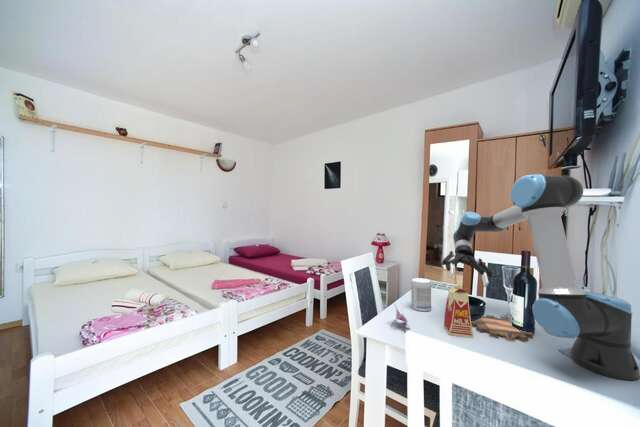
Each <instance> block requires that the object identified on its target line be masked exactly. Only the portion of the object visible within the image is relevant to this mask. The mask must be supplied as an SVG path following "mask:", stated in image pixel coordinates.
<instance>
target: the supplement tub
mask: <svg viewBox="0 0 640 427" xmlns="http://www.w3.org/2000/svg"><path fill="white" fill-rule="evenodd" d="M410 282H411V283H410V284H411V295H410V296H411V299H410V300H411V308H412V309H413V310H415V311H418V312H419V311H420V312H429V311H431V310H432V284H431V282H432V281H431V279H427V278H422V277H415V278H412V279H411V281H410Z"/></svg>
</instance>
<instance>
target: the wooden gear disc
mask: <svg viewBox="0 0 640 427" xmlns="http://www.w3.org/2000/svg"><path fill="white" fill-rule="evenodd" d="M481 316H482V317H481V318H480V319H478V320H475V321H471V325H472V328H475V331H477V332H479V333H481V334H482V333H483V334H485V333H486V334H488V336H489V337H491V338H495V339H498V338H503V339H505V340H506V341H508V342H515V341H516V340H519V341H521V342H528V341H529V339H532V340H533V338H534V333H533V332H532V331H531V332H526V331H522V330H519V329H517V328H515V327H513V326H512V324H511V320H509V318H507V317H502V316H501V317H495V316H494V315H492V314H491V315H490V314H486V316H483V315H481Z"/></svg>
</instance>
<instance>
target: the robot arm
mask: <svg viewBox="0 0 640 427" xmlns="http://www.w3.org/2000/svg"><path fill="white" fill-rule="evenodd" d="M583 196H584V187H583V185H582V182H580V181H579V180H578V179H577V178H575V177H573V176H570V175H565V174H562V175H561V174H560V175H559V174H556V175H555V174H540V173H535V174H526V175H523V176H521V177H520V178H518V179H516V181H515V182H514V184H513V185H512V187H511V189H510V196H509V197H510V200H511V202H512V203H513V206H511V207H509V208H506V209H503V210H502V211H500V212H497V213H495V214H493V215H491V216H481V215H480V214H479V213H477V212H473V211H466V212H464V214H463V215H462V217H461V220H460V222H459V225H458V228H457V229H456V230H455V231H454V233H453V235H452V236H453V237H452V238H453V242H454V252H455V253H454V252H453V251H452V250H451V251H449V254H447V256H445V257H444V258H443V259H442V262H441V265H443V266H444V265H445V268H446V271H448V275H449V276H448V277H449V278H452V277H453V274H454V268H453V267H454V265H455V264H456V265H457V264H460V263H461V264H463V265H466V266H469V267H470V268H473V269H474V270H475V271H477V273H479V274H480V275H481V279H482V284H483V287H484V288H487V287H488V285H489V281H490V279H491V277H492V276H493V275H494V273H493V271H492V270H491V269H490V268H489V267H488V266H487V265H486V264H485V263H484V261H483V260H482V258H478V259H476V258H475V257H474V251H473V247H472V242H471V241H472V238H473V237H474V236H475V233H476V232H479V233H481V232H483V233H484V232H489V233H491V232H492V233H493V232H494V233H499V232H505V230H507V228H508V227H510V226H512V225H516V224H518V223H521V222H524V221H526V220H528V223H529V227H530V232H531V237H532V238H531V239H532V243H533V246H534V251H535V256H536V261H537V266H538V271H539V276H540V281H541V288H540V289H539V290H538V291H537V294H538V299H536V300H534V302H533V304H532V307H531V309H532V314H533V318H534V320H535V321H536V322H537V324H538V325H539V326H540V327H541V328H542V329H543V330H544V331H545V332H546V333H548V334H549V335H552V336H554V337H556V338H568V339H575V340H574V342H573V344H572V345H571V346H572V347H571V348H570V354H569V357H570V358H571V360H572V361H573V362H575V363H576V364H577V365H580V366H581V367H583V368H585V369H587V370H589V371H592V372H594V373H597V374H600V375H603V376H606V377H609V378H614V379H619V380H624V381H625V380H626V381H636V380H639V379H640V367H639V365H638V363H637V361H636V359H635V356H634V354H633V351H632V348H631V347H632V345H631V344H632V316H633V312H632V306H631V303H630V302H628V301H626V300H624V299H622V298H618V297H615V296H612V295H607V294H603V293H597V292H593V291H586V290H582V289H580V288H579V287H578V284H577V280H576V274H575V272H574V267H573V262H572V259H571V254H570V248H569V245H568V241H567V237H566V232H565V228H564V224H563V220H562V216H561V215H562V213H563V212H564V211H565V210H566V209H567V208H570V207H572V206H574V205H576V204H577V203H578V202H580V201H581V199H582V197H583Z"/></svg>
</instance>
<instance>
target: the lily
mask: <svg viewBox="0 0 640 427" xmlns="http://www.w3.org/2000/svg"><path fill="white" fill-rule="evenodd" d="M393 306H395V308H396V309H395V311H396V315H395V316H396V317H395V319H394V321H393V322H392V323H391V325H390V327H392V326H393V325H394V323H395V321H396V320H398V321H401V322H403V323H405V324H406V325H407V327H408V328H410V326H409V325H408V323H409V321H408V319H407V317H406V316H405V313H402V314H401V312H400V311H399V310H398V309H399V308H398V307H397V305H396V304H395V303H393Z"/></svg>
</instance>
